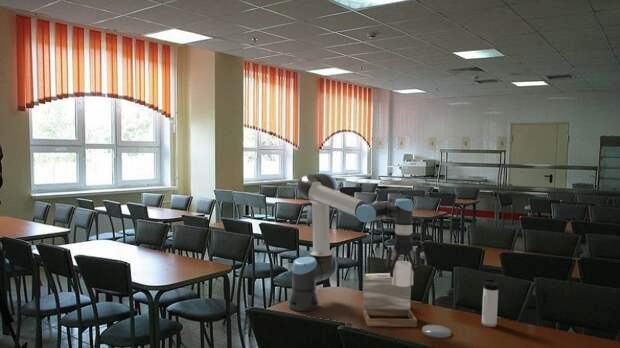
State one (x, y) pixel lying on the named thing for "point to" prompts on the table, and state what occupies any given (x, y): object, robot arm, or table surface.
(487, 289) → the travel mug
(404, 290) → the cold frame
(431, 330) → the slate saucer
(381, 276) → the tea box
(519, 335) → the table surface
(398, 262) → the white cup
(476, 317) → the table surface
